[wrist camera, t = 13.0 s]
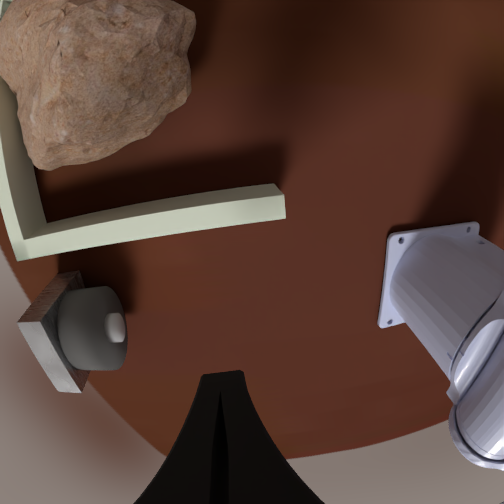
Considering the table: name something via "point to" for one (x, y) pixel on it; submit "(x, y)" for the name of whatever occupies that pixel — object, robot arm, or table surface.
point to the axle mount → (53, 333)
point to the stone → (93, 73)
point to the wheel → (93, 329)
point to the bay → (112, 220)
